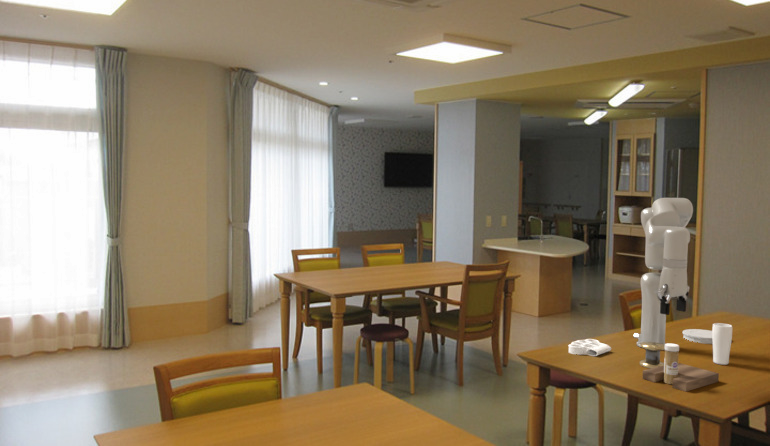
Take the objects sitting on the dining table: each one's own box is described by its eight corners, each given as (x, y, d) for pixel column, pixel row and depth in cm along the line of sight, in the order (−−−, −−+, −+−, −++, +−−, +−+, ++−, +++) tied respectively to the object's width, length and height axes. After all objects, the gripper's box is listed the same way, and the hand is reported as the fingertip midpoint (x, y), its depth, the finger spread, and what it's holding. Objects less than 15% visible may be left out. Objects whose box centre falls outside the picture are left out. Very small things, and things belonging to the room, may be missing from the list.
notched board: (642, 378, 217) (642, 370, 217) (675, 370, 228) (675, 362, 228) (685, 391, 204) (686, 382, 204) (718, 381, 215) (718, 373, 215)
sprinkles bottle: (671, 385, 210) (672, 346, 209) (660, 381, 214) (661, 343, 213) (680, 384, 212) (682, 345, 211) (669, 380, 216) (671, 342, 215)
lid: (739, 345, 267) (740, 338, 267) (693, 344, 268) (693, 337, 267) (718, 335, 285) (719, 329, 284) (675, 335, 285) (675, 328, 285)
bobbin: (634, 364, 235) (635, 343, 235) (648, 360, 240) (649, 340, 239) (656, 370, 227) (657, 349, 227) (670, 366, 232) (671, 345, 232)
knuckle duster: (592, 359, 243) (560, 351, 253) (614, 351, 255) (582, 344, 265) (593, 351, 242) (560, 343, 253) (615, 343, 255) (582, 337, 265)
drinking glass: (733, 366, 234) (735, 327, 233) (714, 365, 235) (715, 326, 234) (727, 361, 241) (728, 323, 240) (708, 360, 242) (710, 322, 241)
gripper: (679, 261, 222) (677, 307, 223) (650, 264, 212) (648, 313, 214) (699, 263, 215) (697, 311, 217) (670, 267, 206) (668, 317, 207)
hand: (672, 312), depth 215 cm, fingers open, 9 cm apart
